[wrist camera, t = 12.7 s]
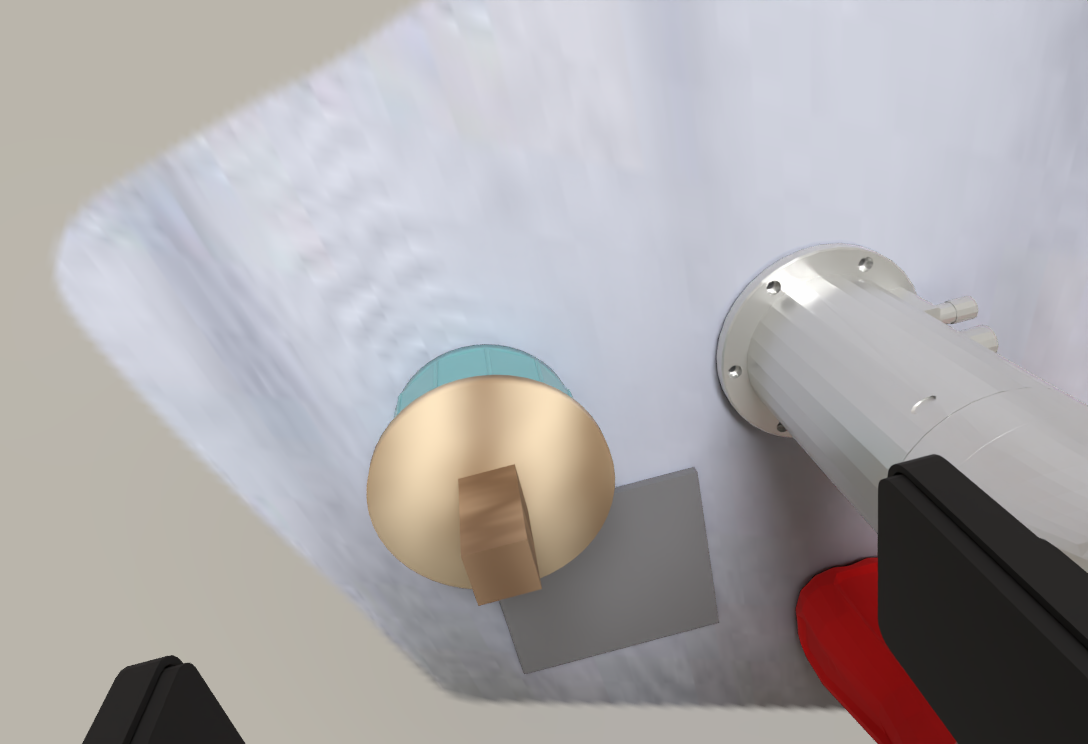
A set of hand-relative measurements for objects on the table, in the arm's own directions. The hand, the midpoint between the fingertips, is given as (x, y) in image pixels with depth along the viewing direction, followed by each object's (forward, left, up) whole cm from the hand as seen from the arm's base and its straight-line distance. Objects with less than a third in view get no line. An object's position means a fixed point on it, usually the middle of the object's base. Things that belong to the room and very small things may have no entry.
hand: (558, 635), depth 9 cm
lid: (+3, +14, -24) cm, 28 cm away
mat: (-2, +28, -30) cm, 41 cm away
